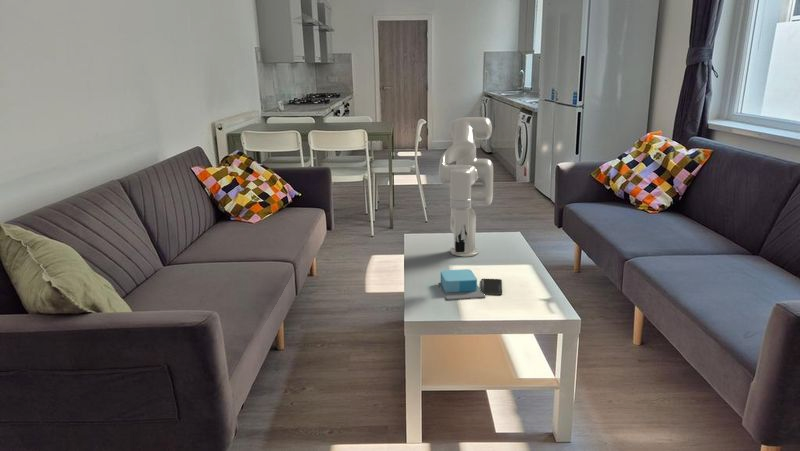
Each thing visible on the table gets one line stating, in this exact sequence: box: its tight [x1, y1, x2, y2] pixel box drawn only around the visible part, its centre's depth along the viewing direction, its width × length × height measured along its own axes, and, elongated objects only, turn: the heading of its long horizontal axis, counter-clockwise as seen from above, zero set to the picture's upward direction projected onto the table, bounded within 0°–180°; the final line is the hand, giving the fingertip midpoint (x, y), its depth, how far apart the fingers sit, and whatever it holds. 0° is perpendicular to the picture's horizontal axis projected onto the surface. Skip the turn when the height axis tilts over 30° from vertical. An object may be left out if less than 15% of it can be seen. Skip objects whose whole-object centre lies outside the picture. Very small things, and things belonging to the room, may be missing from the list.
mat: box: [437, 282, 486, 301], centre depth 201 cm, size 16×14×1 cm
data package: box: [440, 268, 478, 293], centre depth 204 cm, size 12×4×12 cm
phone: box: [480, 278, 503, 297], centre depth 204 cm, size 8×1×15 cm
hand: (459, 251), depth 201 cm, fingers closed
